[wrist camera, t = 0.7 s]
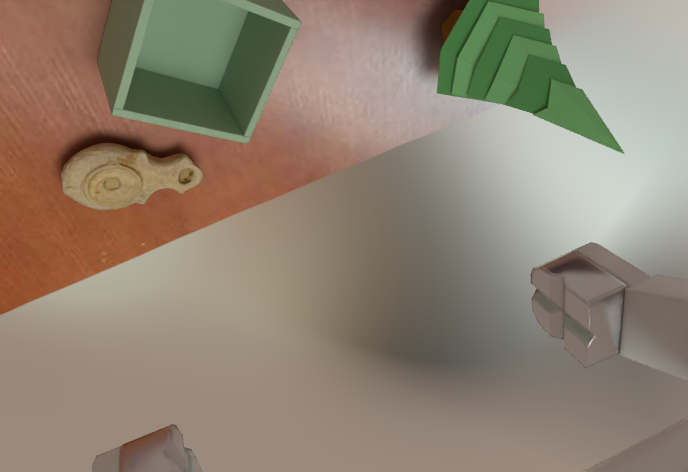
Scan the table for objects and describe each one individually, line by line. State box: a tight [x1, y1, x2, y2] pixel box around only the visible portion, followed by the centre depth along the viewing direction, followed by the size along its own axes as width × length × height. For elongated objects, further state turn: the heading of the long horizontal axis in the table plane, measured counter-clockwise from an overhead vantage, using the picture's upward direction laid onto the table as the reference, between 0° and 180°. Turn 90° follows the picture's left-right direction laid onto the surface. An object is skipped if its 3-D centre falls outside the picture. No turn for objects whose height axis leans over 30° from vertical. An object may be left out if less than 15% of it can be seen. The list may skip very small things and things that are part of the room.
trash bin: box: [97, 0, 301, 144], centre depth 52 cm, size 14×14×11 cm
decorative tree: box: [437, 0, 624, 153], centre depth 61 cm, size 14×16×30 cm
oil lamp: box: [61, 143, 203, 210], centre depth 62 cm, size 11×14×5 cm
